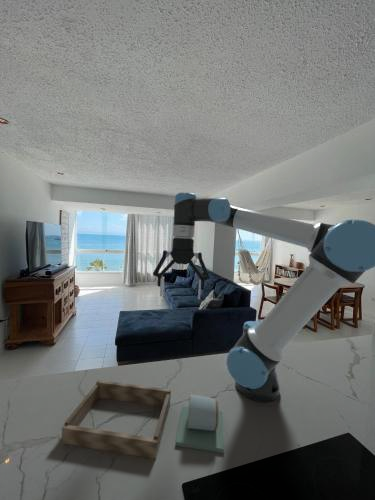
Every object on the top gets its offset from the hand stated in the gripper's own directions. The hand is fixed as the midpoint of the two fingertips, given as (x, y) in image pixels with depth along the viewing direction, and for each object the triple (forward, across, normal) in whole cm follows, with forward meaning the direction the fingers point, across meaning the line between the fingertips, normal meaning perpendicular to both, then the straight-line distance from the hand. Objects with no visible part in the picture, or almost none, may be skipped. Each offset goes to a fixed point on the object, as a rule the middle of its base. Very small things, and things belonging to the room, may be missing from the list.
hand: (180, 297), depth 79 cm
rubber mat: (+31, +10, -19) cm, 38 cm away
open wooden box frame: (+31, -12, -20) cm, 39 cm away
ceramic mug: (+30, +10, -18) cm, 36 cm away
